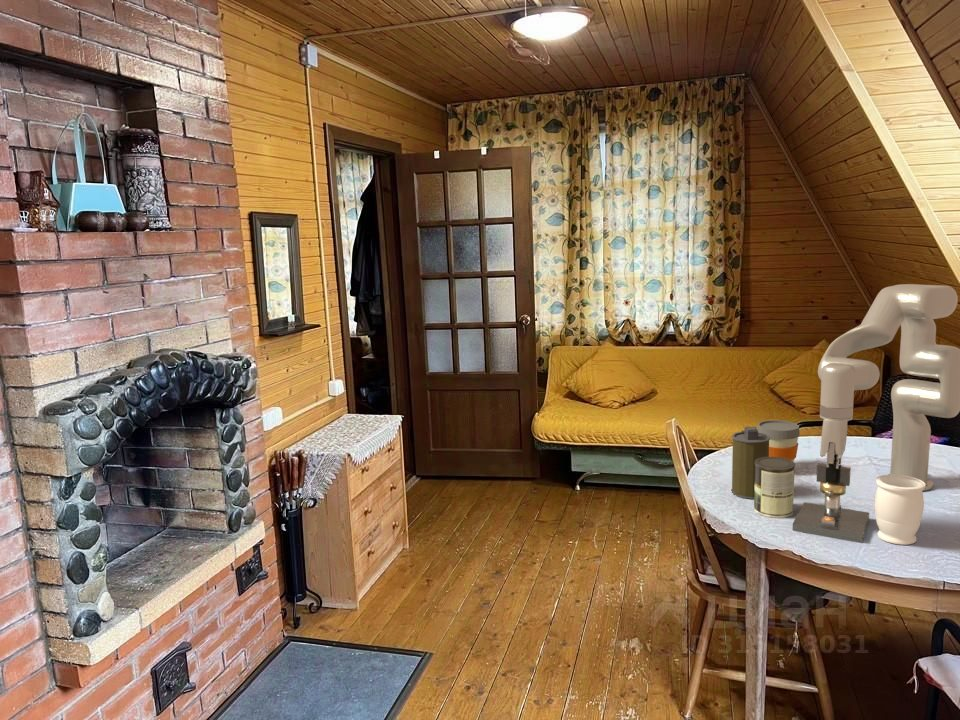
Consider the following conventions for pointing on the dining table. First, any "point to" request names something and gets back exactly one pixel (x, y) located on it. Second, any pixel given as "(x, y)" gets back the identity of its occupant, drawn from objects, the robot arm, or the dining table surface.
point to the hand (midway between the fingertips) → (833, 480)
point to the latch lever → (833, 487)
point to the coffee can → (774, 487)
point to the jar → (898, 508)
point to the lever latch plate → (831, 520)
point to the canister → (747, 460)
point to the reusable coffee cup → (781, 438)
